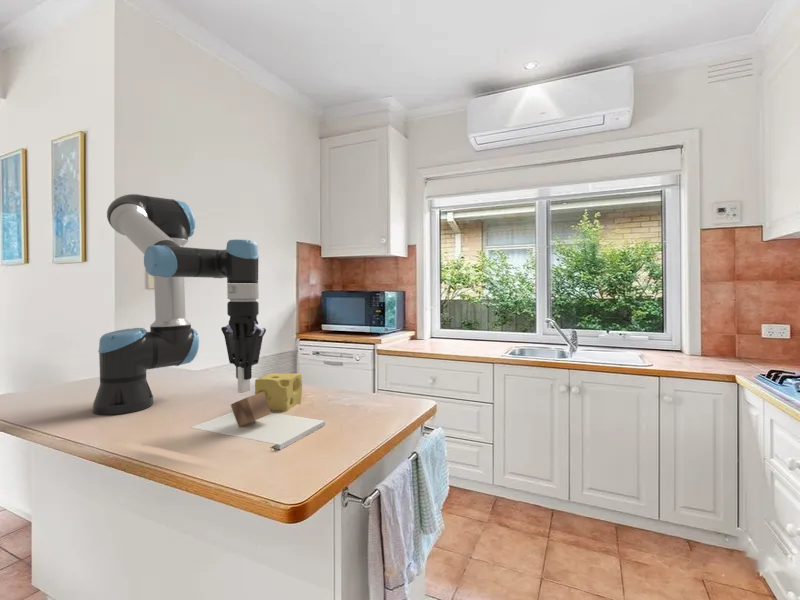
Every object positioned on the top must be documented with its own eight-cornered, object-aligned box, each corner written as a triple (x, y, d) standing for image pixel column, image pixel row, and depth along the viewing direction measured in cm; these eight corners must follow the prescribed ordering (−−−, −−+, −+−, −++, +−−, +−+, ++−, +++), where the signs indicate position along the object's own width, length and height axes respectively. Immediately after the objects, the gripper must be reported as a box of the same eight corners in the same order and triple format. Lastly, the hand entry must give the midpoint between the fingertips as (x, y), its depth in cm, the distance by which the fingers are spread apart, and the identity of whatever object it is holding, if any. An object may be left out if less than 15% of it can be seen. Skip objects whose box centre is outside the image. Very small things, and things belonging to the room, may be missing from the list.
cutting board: (190, 432, 105) (190, 427, 105) (243, 412, 121) (243, 408, 121) (280, 450, 94) (280, 444, 94) (324, 425, 110) (324, 420, 110)
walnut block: (230, 404, 106) (246, 397, 103) (247, 398, 111) (263, 391, 109) (237, 427, 105) (254, 420, 103) (254, 420, 110) (271, 413, 108)
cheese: (287, 415, 119) (286, 380, 118) (252, 413, 121) (252, 378, 120) (302, 405, 129) (302, 373, 128) (270, 403, 131) (270, 371, 131)
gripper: (212, 300, 106) (213, 392, 107) (252, 301, 101) (253, 397, 102) (234, 299, 113) (235, 385, 114) (273, 300, 108) (273, 390, 109)
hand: (243, 391), depth 108 cm, fingers closed
